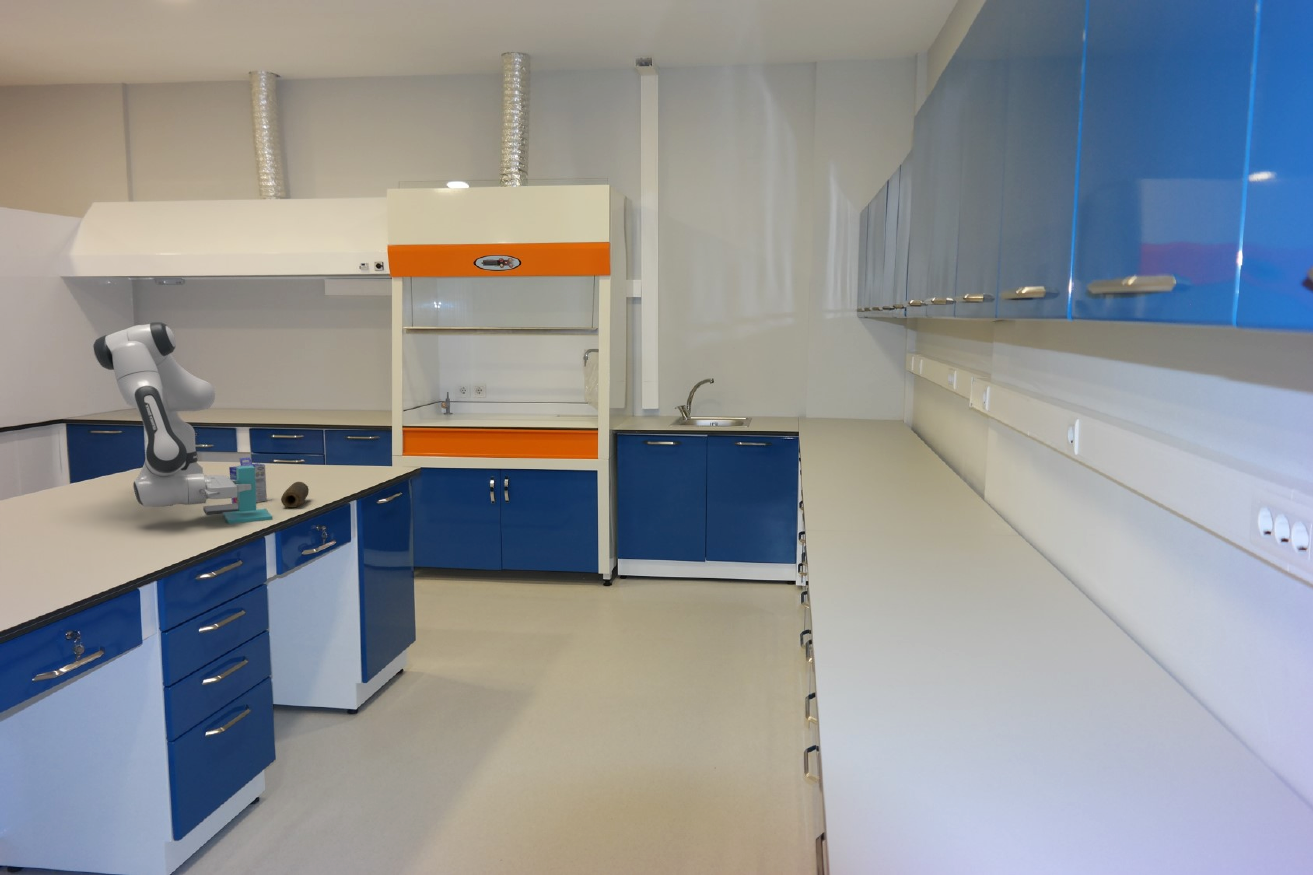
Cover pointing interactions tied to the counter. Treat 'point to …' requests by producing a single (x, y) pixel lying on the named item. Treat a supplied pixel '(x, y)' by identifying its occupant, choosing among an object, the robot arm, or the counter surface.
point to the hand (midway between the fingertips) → (249, 484)
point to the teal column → (248, 496)
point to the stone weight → (295, 494)
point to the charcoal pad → (220, 508)
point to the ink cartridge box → (259, 479)
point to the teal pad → (247, 516)
